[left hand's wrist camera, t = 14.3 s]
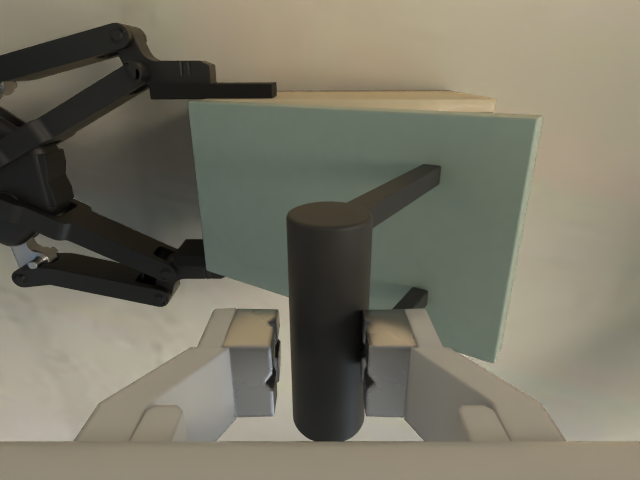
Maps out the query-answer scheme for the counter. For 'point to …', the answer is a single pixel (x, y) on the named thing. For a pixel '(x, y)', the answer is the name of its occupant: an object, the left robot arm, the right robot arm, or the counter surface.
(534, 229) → the counter surface
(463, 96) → the chest
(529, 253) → the counter surface
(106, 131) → the counter surface
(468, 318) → the lid
